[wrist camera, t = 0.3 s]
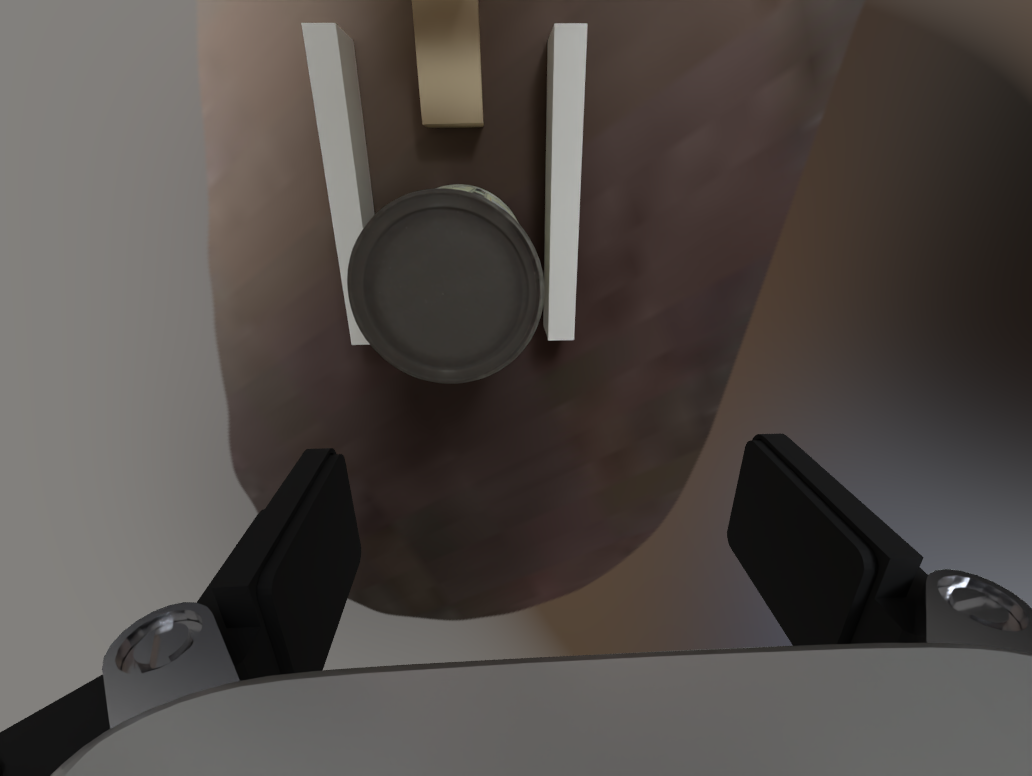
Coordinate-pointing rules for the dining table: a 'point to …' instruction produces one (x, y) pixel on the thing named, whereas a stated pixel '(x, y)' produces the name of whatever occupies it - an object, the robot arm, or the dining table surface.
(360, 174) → the white rectangular posts
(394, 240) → the coffee can
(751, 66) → the dining table surface
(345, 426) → the dining table surface
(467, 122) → the wooden rectangular block
